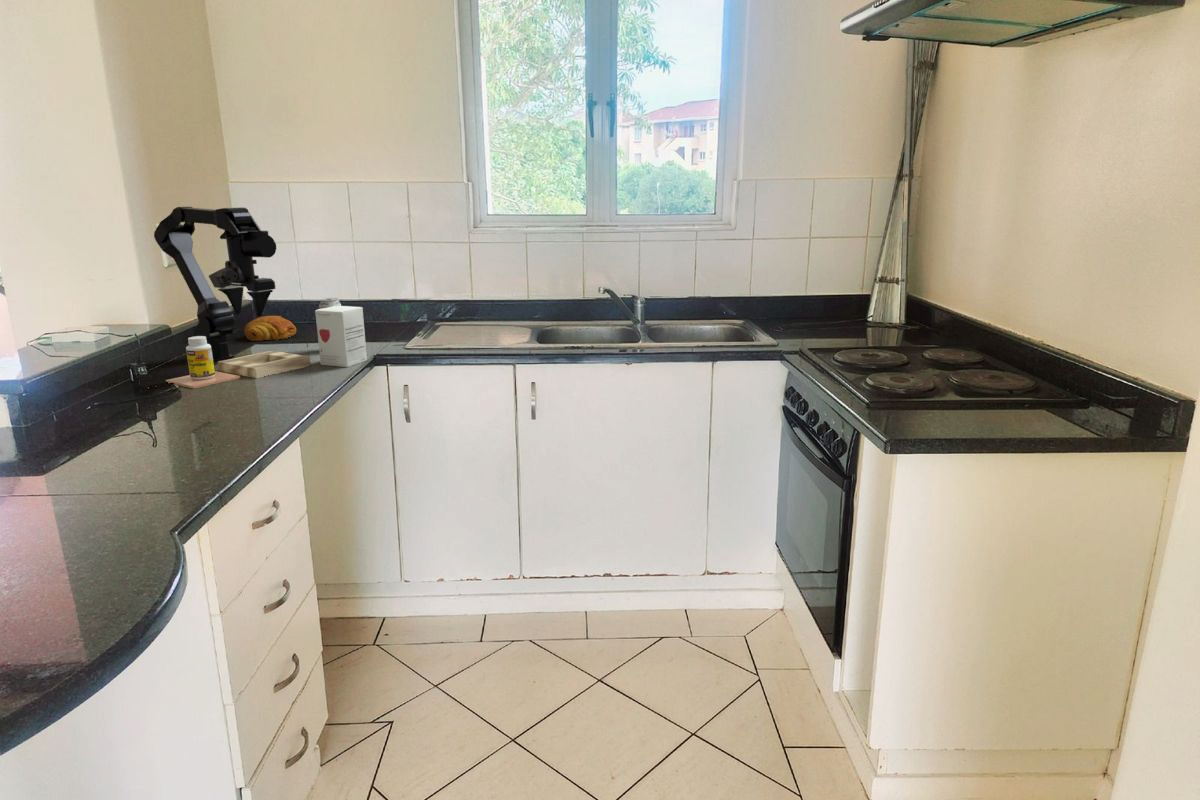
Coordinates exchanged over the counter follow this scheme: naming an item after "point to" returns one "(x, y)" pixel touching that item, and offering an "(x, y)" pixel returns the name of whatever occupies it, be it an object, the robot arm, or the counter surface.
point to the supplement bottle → (200, 358)
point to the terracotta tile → (192, 383)
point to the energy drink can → (329, 303)
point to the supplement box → (341, 335)
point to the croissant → (269, 328)
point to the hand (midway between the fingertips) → (248, 315)
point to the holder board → (264, 364)
